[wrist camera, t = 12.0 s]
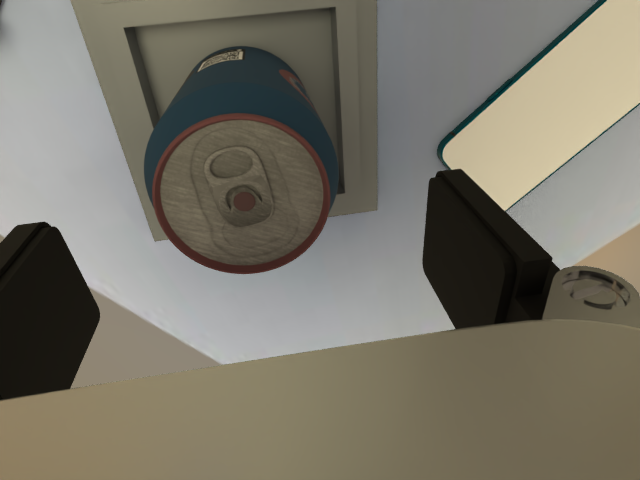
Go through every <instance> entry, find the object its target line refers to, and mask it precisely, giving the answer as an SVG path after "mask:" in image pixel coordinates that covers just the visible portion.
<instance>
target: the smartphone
mask: <svg viewBox="0 0 640 480" xmlns="http://www.w3.org/2000/svg"><path fill="white" fill-rule="evenodd" d="M638 105H640V0H599V1H597V2H596V3H595V4H594V5H593V6H592V7H591V8H590V9H588V10H587V11H586V12H585V13H584V14H583V15H582V16H581V17H579V18H578V19H577V20H576V21H575V22H574V23H573V24H572V25H570V26H569V27H568V28H567V29H566V30H565V31H564V32H563V33H561V34H560V35H559V36H558V37H557V38H556V39H555V40H554V41H552V42H551V43H550V44H549V45H548V46H547V47H546V48H545V49H543V50H542V51H541V52H540V53H539V54H538V55H537V56H536V57H534V58H533V59H532V60H531V61H530V62H529V63H528V64H527V65H525V66H524V67H523V68H522V69H521V70H520V71H519V72H518V73H516V74H515V75H514V76H513V77H512V78H511V79H509V80H507V81H506V82H505V83H504V84H503V85H502V86H501V87H500V88H499V89H498V90H496V91H495V92H494V93H493V94H492V95H491V96H490V97H489V98H488V99H487V100H486V101H485V102H484V103H483V104H482V105H481V106H479V107H478V108H477V109H476V110H475V111H474V112H473V113H472V114H470V115H469V116H468V117H467V118H466V119H465V120H464V121H463V122H461V123H460V124H459V125H458V126H457V127H456V128H455V129H454V130H452V131H451V132H450V133H449V134H448V135H447V136H446V137H445V138H444V139H443V140H442V141H441V142H440V144H439V146H438V149H437V155H438V158H439V159H440V161H441V162H442V163H443V164H444V165H445V166H446V168H447V169H448V170H453V169H462V170H463V171H464V172H465V173H466V174H467V175H468V176H469V177H470V178H471V179H472V180H473V181H474V182H475V183H476V184H477V185H478V186H479V187H481V188H482V189H483V190H484V191H485V192H486V193H487V194H488V195H489V196H490V197H491V198H492V199H493V200H494V201H495V202H496V203H497V204H498V205H499V206H500V207H501V208H502V209H503V210H504V211H505V212H506V211H507V210H508V209H510V208H511V207H512V206H513V205H515V204H516V203H517V202H518V201H520V200H521V199H522V198H523V197H525V196H526V195H527V194H528V193H530V192H531V191H532V190H533V189H535V188H536V187H537V186H538V185H540V184H541V183H542V182H543V181H545V180H546V179H547V178H548V177H550V176H551V175H552V174H553V173H555V172H556V171H557V170H558V169H560V168H561V167H562V166H563V165H565V164H566V163H567V162H568V161H570V160H571V159H572V158H573V157H575V156H576V155H577V154H578V153H580V152H581V151H582V150H583V149H585V148H586V147H587V146H588V145H590V144H591V143H592V142H593V141H595V140H596V139H597V138H598V137H600V136H601V135H602V134H603V133H605V132H606V131H607V130H608V129H610V128H611V127H612V126H613V125H615V124H616V123H617V122H618V121H620V120H621V119H622V118H623V117H625V116H626V115H627V114H628V113H630V112H631V111H632V110H633V109H635V108H636V107H637V106H638Z"/></svg>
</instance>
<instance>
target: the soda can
mask: <svg viewBox="0 0 640 480" xmlns="http://www.w3.org/2000/svg"><path fill="white" fill-rule="evenodd" d="M144 179H145V185H146V189H147V193H148V196H149V199H150V201H151V203H152V206H153V208H154V210H155V214H156V217H157V219H158V222H159V224H160V226H161V228H162V230H163V231H164V233H165V234H166V236H167V237H168V238H169V240H170V241H171V242H172V243H173V244H174V245H175V246H176V247H177V248H178V249H179V250H180V251H181V252H182V253H184V254H185V255H186V256H188V257H189V258H190V259H192V260H194V261H195V262H197V263H199V264H201V265H204V266H206V267H208V268H211V269H214V270H218V271H222V272H227V273H235V274H253V273H260V272H265V271H269V270H273V269H276V268H278V267H281V266H283V265H285V264H287V263H289V262H291V261H293V260H294V259H296V258H297V257H299V256H300V255H301V254H303V253H304V252H305V251H306V250H307V249H308V248H309V247H310V246H311V245H312V244H313V243H314V241H315V240H316V239H317V237H318V236H319V234H320V233H321V231H322V229H323V227H324V225H325V223H326V220H327V217H328V214H329V212H330V210H331V208H332V206H333V203H334V200H335V198H336V194H337V189H338V180H339V170H338V162H337V156H336V152H335V149H334V146H333V143H332V141H331V139H330V137H329V135H328V133H327V131H326V129H325V127H324V125H323V123H322V121H321V119H320V117H319V115H318V113H317V111H316V109H315V107H314V105H313V103H312V101H311V99H310V98H309V96H308V94H307V92H306V90H305V88H304V86H303V84H302V82H301V80H300V79H299V77H298V76H297V74H296V73H295V72H294V71H293V69H292V68H291V67H290V66H289V65H288V64H287V63H285V62H284V61H283V60H282V59H280V58H279V57H277V56H275V55H274V54H272V53H270V52H267V51H265V50H262V49H259V48H254V47H248V46H235V47H228V48H224V49H221V50H218V51H216V52H214V53H212V54H210V55H208V56H207V57H205V58H204V59H203V60H201V61H200V62H199V63H198V64H197V65H196V66H195V67H194V68H193V70H192V71H191V72H190V74H189V75H188V77H187V78H186V80H185V82H184V83H183V85H182V86H181V88H180V89H179V91H178V92H177V94H176V95H175V97H174V98H173V100H172V101H171V103H170V104H169V106H168V108H167V109H166V111H165V112H164V114H163V115H162V117H161V118H160V120H159V121H158V123H157V125H156V126H155V128H154V130H153V132H152V134H151V136H150V138H149V141H148V144H147V147H146V151H145V157H144Z"/></svg>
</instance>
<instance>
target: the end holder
mask: <svg viewBox="0 0 640 480" xmlns="http://www.w3.org/2000/svg"><path fill="white" fill-rule="evenodd" d="M71 3H72V6H73V9H74V11H75V14H76V17H77V20H78V23H79V26H80V29H81V32H82V34H83V37H84V40H85V43H86V46H87V49H88V52H89V55H90V57H91V60H92V63H93V66H94V69H95V72H96V75H97V77H98V80H99V83H100V86H101V89H102V92H103V95H104V98H105V100H106V103H107V106H108V109H109V112H110V115H111V118H112V121H113V123H114V126H115V129H116V132H117V135H118V138H119V141H120V143H121V146H122V149H123V152H124V155H125V158H126V161H127V164H128V166H129V169H130V172H131V175H132V178H133V181H134V184H135V187H136V189H137V192H138V195H139V198H140V201H141V204H142V207H143V210H144V212H145V215H146V218H147V221H148V224H149V227H150V230H151V232H152V235H153V238H154V241H161V240H168V239H169V238H168V237H167V236H166V234H165V233H164V231H163V230H162V228H161V226H160V224H159V222H158V219H157V217H156V214H155V210H154V208H153V206H152V203H151V201H150V199H149V196H148V193H147V189H146V185H145V179H144V157H145V151H146V147H147V144H148V141H149V138H150V136H151V134H152V132H153V130H154V128H155V126H156V125H157V123H158V121H159V120H160V118H161V117H162V115H163V114H164V112H165V111H166V109H167V108H168V106H169V104H170V103H171V101H172V100H173V98H174V97H175V95H176V94H177V92H178V91H179V89H180V88H181V86H182V85H183V83H184V82H185V80H186V78H187V77H188V75H189V74H190V72H191V71H192V70H193V68H194V67H195V66H196V65H197V64H198V63H199V62H200V61H201V60H203V59H204V58H205V57H207V56H208V55H210V54H212V53H214V52H216V51H218V50H221V49H224V48H228V47H235V46H248V47H254V48H259V49H262V50H265V51H267V52H270V53H272V54H274V55H275V56H277V57H279V58H280V59H282V60H283V61H284V62H285V63H287V64H288V65H289V66H290V67H291V68H292V69H293V71H294V72H295V73H296V74H297V76H298V77H299V79H300V80H301V82H302V84H303V86H304V88H305V90H306V92H307V94H308V96H309V98H310V99H311V101H312V103H313V105H314V107H315V109H316V111H317V113H318V115H319V117H320V119H321V121H322V123H323V125H324V127H325V129H326V131H327V133H328V135H329V137H330V139H331V141H332V143H333V146H334V149H335V152H336V156H337V162H338V170H339V180H338V189H337V194H336V198H335V200H334V203H333V206H332V208H331V210H330V212H329V214H328V217H332V216H339V215H346V214H353V213H361V212H368V211H375V210H377V0H71Z"/></svg>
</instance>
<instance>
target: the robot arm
mask: <svg viewBox="0 0 640 480" xmlns="http://www.w3.org/2000/svg"><path fill="white" fill-rule="evenodd" d="M423 269H424V273H425V275H426V277H427V278H428V280H429V282H430V284H431V286H432V287H433V289H434V291H435V293H436V294H437V296H438V298H439V300H440V302H441V303H442V305H443V307H444V309H445V311H446V312H447V314H448V316H449V318H450V320H451V321H452V323H453V325H454V327H455V329H454V330H447V331H440V332H434V333H427V334H420V335H414V336H407V337H401V338H394V339H387V340H381V341H374V342H367V343H361V344H354V345H347V346H341V347H334V348H328V349H322V350H315V351H309V352H302V353H296V354H290V355H283V356H277V357H270V358H264V359H258V360H251V361H245V362H238V363H232V364H225V365H219V366H213V367H207V368H200V369H193V370H187V371H181V372H174V373H168V374H161V375H155V376H148V377H142V378H135V379H129V380H123V381H116V382H110V383H104V384H97V385H91V386H85V387H78V388H72V389H70V387H71V385H72V383H73V380H74V378H75V375H76V373H77V371H78V369H79V366H80V364H81V362H82V360H83V357H84V355H85V353H86V350H87V348H88V346H89V343H90V341H91V339H92V337H93V334H94V332H95V330H96V327H97V325H98V323H99V319H100V312H99V308H98V306H97V303H96V302H95V300H94V298H93V296H92V294H91V292H90V290H89V288H88V286H87V284H86V282H85V280H84V278H83V276H82V274H81V272H80V270H79V268H78V266H77V264H76V262H75V260H74V258H73V256H72V254H71V252H70V250H69V248H68V246H67V244H66V243H65V241H64V239H63V237H62V235H61V233H60V231H59V230H58V229H57V228H56V227H54V226H53V227H51V226H50V225H49V224H48V223H46V222H38V223H31V224H23V225H17V226H16V227H15V228H14V229H13V230H12V231H11V232H10V233H9V234H8V235H7V236H6V238H5V239H4V240H3V241H2V242H1V243H0V480H640V296H639V293H638V292H637V290H636V289H635V288H634V287H633V286H632V285H631V284H630V283H629V282H627V281H626V280H625V279H623V278H621V277H619V276H618V275H615V274H614V273H612V272H609V271H606V270H602V269H599V268H594V267H588V266H571V267H567V268H563V269H561V270H560V269H559V268H558V267H557V266H556V265H555V264H554V263H553V262H552V257H551V256H550V255H549V254H548V253H547V252H546V251H545V250H544V249H543V248H542V247H541V246H540V245H539V244H538V243H537V242H536V241H535V240H534V239H533V238H532V237H531V236H530V235H529V234H528V233H527V232H526V231H525V230H524V229H523V228H521V227H520V226H519V225H518V224H517V223H516V222H515V221H514V220H513V219H512V218H511V217H510V216H509V215H508V214H507V213H506V212H505V211H504V210H503V209H502V208H501V207H500V206H499V205H498V204H497V203H496V202H495V201H494V200H493V199H492V198H491V197H490V196H489V195H488V194H487V193H486V192H485V191H484V190H483V189H482V188H481V187H479V186H478V185H477V184H476V183H475V182H474V181H473V180H472V179H471V178H470V177H469V176H468V175H467V174H466V173H465V172H464V171H463V170H462V169H453V170H445V171H438V172H437V174H436V176H435V177H434V178H431V179H430V181H429V188H428V200H427V212H426V224H425V237H424V249H423Z"/></svg>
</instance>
